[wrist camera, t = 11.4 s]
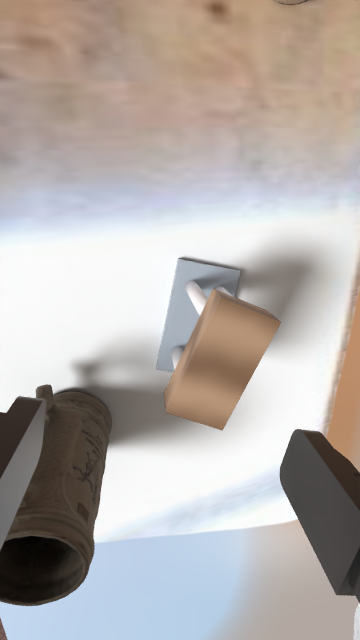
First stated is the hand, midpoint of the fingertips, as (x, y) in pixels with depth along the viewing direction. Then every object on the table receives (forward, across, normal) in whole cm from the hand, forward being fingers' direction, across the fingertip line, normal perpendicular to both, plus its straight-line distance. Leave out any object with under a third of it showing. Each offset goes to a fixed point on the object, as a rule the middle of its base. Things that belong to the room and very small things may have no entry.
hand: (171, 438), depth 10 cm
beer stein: (+32, +8, +22) cm, 40 cm away
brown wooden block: (+21, -7, +5) cm, 23 cm away
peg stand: (+32, -7, +6) cm, 33 cm away
